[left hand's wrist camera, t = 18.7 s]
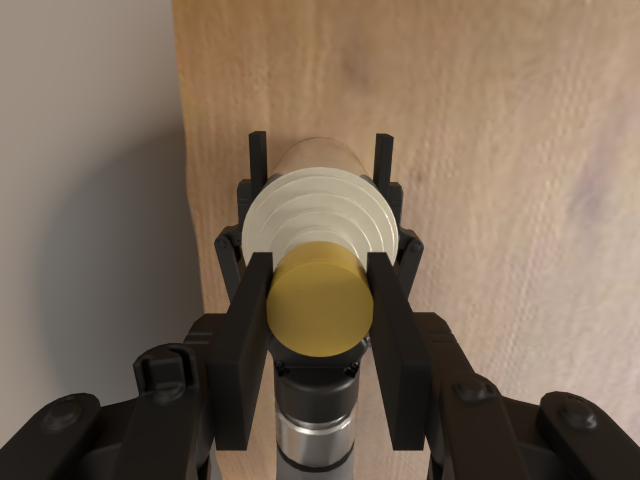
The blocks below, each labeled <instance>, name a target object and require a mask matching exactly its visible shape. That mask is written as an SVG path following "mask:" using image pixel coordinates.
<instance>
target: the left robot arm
mask: <svg viewBox="0 0 640 480" xmlns="http://www.w3.org/2000/svg"><path fill="white" fill-rule="evenodd" d="M273 273H274V271H273V252H253V254H252V256H251V259H250V261H249V263H248V265H247V268H246V270H245V272H244V275H243V277H242V279H241V281H240V284H239V286H238V288H237V290H236V293H235V295H234V297H233V300H232V302H231V304H230V306H229V309H228V311H227V313H226V314H205V315H203V316H202V317H201V318H199V319H198V320H197V321H196V322H194V324H193V326H192V327H191V329H190V331H189V333H188V335H187V336H186V338H185V340H184V342H183V344H181V343H168V344H164V345H159V346H157V347H154V348H152V349H150V350H147V351H146V352H145V353H143V354H142V355H141V356H139V357H138V358H137V360H136V361H135V362H134V364H133V369H134V373H135V378H136V382H137V387H138V391H139V396H138V397H137V398H134V399H131V400H128V401H124V402H121V403H116V404H112V405H107V406H103V407H101V406H100V402H99V400H98V399H97V398H96V397H95V396H94V395H92V394H87V393H77V394H71V395H68V396H65V397H62V398H59V399H57V400H55V401H53V402H51V403H49V404H47V405H46V406H44V407H43V408H42V409H41V410H39V411H38V412H37V413H36V414H34V415H33V417H31V418H30V420H29V421H28V422H27V423H26V424H25V425H24V426H23V427H22V428H21V429H20V430H19V431H18V432H17V433H16V434H15V435H14V436H13V437H12V438H11V439H10V440H9V441H8V442H7V443H6V444H5V445H4V446H3V447H2V448H1V449H0V480H210V476H211V461H210V455H209V452H210V449H211V445H212V442H213V439H214V436H215V442H216V450H247V445H248V440H249V436H250V431H251V426H252V421H253V417H254V412H255V407H256V402H257V398H258V393H259V388H260V383H261V379H262V374H263V369H264V364H265V359H266V355H267V350H268V345H269V340H270V336H271V329H270V328H269V325H268V322H267V307H266V300H267V296H268V292H269V288H270V285H271V281H272V277H273ZM366 274H367V278H368V282H369V286H370V289H371V293H372V297H373V320H372V325H371V327H370V329H369V331H368V332H369V337H370V341H371V346H372V351H373V356H374V361H375V365H376V370H377V375H378V380H379V384H380V389H381V394H382V399H383V403H384V408H385V413H386V418H387V423H388V427H389V432H390V437H391V442H392V446H393V450H413V451H423V448H424V441H425V435H426V438H427V441H428V444H429V447H430V451H431V454H430V461H429V468H428V475H427V480H640V447H639V446H638V445H637V444H636V443H635V442H634V441H633V440H632V439H631V438H630V437H629V436H628V435H627V434H626V433H625V432H624V431H623V430H622V429H621V428H620V427H619V426H618V425H617V424H616V423H615V422H614V421H613V420H612V419H611V418H610V417H609V416H608V415H607V413H605V412H604V411H603V410H602V409H600V408H599V407H598V406H597V405H596V404H594V403H592V402H590V401H588V400H587V399H585V398H583V397H581V396H577V395H574V394H571V393H568V392H558V391H555V392H550V393H546V394H545V395H544V396H543V397H542V398H541V401H540V405H535V404H530V403H526V402H522V401H518V400H514V399H510V398H507V397H504V396H502V395H501V393H500V392H499V390H498V389H497V387H496V386H495V385H494V384H493V383H492V382H491V381H489V380H488V379H487V378H485V377H483V376H481V375H479V374H477V373H475V372H474V370H473V368H472V367H471V365H470V363H469V361H468V360H467V358H466V356H465V354H464V353H463V351H462V349H461V347H460V346H459V344H458V343H457V340H456V339H455V337H454V335H453V334H452V332H451V330H450V328H449V326H448V325H447V323H446V321H445V320H443V319H442V318H441V317H439V316H438V315H437V314H436V313H434V312H413V311H412V309H411V307H410V305H409V302H408V300H407V298H406V296H405V293H404V291H403V289H402V286H401V284H400V282H399V280H398V277H397V275H396V273H395V271H394V268H393V266H392V264H391V261H390V259H389V257H388V255H387V252H367V267H366Z"/></svg>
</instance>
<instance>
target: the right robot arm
mask: <svg viewBox="0 0 640 480" xmlns="http://www.w3.org/2000/svg"><path fill="white" fill-rule="evenodd" d="M393 140H394V137H392V136H390V135H388V134H376V146H375V160H374V174H373V182H374V183H375V185H376V186H377V188H378V189H379V191H380V192H381V194H382V195H383V197H384V198H385V200H386V202H387V203H388V205H389V207H390V209H391V210H392V213H393V215H394V218H395V221H396V225H397V230H398V250H397V255H396V259H395V262H394V265H393V268H394V271H395V273H396V275H397V277H398V280H399V282H400V284H401V286H402V289H403V291H404V293H405V296H406V298H407V300H408V297H409V294H410V291H411V287H412V284H413V281H414V278H415V275H416V272H417V269H418V265H419V262H420V259H421V256H422V253H423V250H424V245H423V243H422V242H421V240H420V239H419V238H418V236H417V235H416V233H415V232H414V231H412V230H406V229H403V228H401V227H400V222H401V212H402V203H403V202H402V201H403V190H402V187H401V185H400V184H399V183H398V182H390V174H391V163H392V151H393ZM249 150H250V170H251V179H243V180H242V181H241V182H240V183H239V185H238V188H237V200H238V216H239V224H237V225H235V226H232V227H231V226H228V227H225V228H224V229H223V230H222V232H221V233H220V234H219V236H218V237H217V238H216V240H215V242H214V246H215V249H216V253H217V256H218V260H219V264H220V267H221V271H222V275H223V278H224V282H225V285H226V289H227V293H228V296H229V300H230V303H231V302H232V300H233V297H234V295H235V293H236V290H237V288H238V286H239V284H240V281H241V279H242V277H243V275H244V272H245V270H246V265H245V261H244V257H243V253H242V249H241V244H242V230H243V224H244V221H245V218H246V215H247V212H248V210H249V208H250V206H251V205H252V203H253V202H254V200H255V199H256V197H257V196H258V194H259V192H260V191H261V189H262V188H263V186H264V185H265V183H266V182H267V180H268V179H267V148H266V131H255V132H253V133H251V134H249ZM368 347H372V346H371V341H370V337H369V332H368V333H367V334H366V335H365V337H364V338H363V339H362V340H361V341H360V342H359V343H358V344H357V345H355V346H354V347H352V348H351V349H349V350H347V351H345V352H343V353H340V354H337V355H333V356H327V357H313V356H307V355H303V354H300V353H297V352H295V351H293V350H291V349H289V348H287V347H286V346H285V345H283V344H282V343H281V342H280V341H279V340H278V339H277V338H276V337H275V336H274V334H273V333H272V331H271V336H270V340H269V345H268V350H269V352H270V353H271V355H272V357H273V362H274V393H275V420H276V441H277V473H276V480H353V452H354V439H355V432H356V418H357V398H358V388H359V374H360V361H361V358H362V356H363V355H364V353H365V352H366V350H367V348H368Z"/></svg>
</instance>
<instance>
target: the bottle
mask: <svg viewBox="0 0 640 480" xmlns="http://www.w3.org/2000/svg"><path fill="white" fill-rule="evenodd" d="M314 241H326V242H332V243H336V244H338V245H341V246H343V247H345V248H347V249H348V250H350V251H351V252H352V253H353V254H355V255H356V256H357V258H358V259H359V260H360V261H361V263H362V264H363V266H364V269H365V271H366V267H367V252H387V255H388V257H389V259H390V261H391V264H392V266H393V265H394V262H395V259H396V255H397V250H398V230H397V225H396V221H395V218H394V215H393V213H392V210H391V209H390V207H389V205H388V203H387V202H386V200H385V198H384V197H383V195H382V194H381V192H380V191H379V189H378V188H377V186H376V185H375V183H374V182H373V180H372V179H371V177H370V176H369V174H368V173H367V171H366V170H365V168H364V167H363V165H362V164H361V162H360V161H359V159H358V158H357V156H356V155H355V154H354V153H353V152H352V151H351V150H350V149H349V148H348V147H347V146H345V145H344V144H342V143H340V142H338V141H335V140H332V139H328V138H313V139H308V140H305V141H302V142H300V143H298V144H296V145H295V146H293V147H292V148H291V149H290V150H289V151H288V152H287V153H286V154H285V155H284V156H283V158H282V159H281V161H280V162H279V164H278V165H277V167H276V168H275V170H274V171H273V173H272V174H271V176H270V177H269V179H268V180H267V182H266V183H265V185H264V186H263V188H262V189H261V191H260V192H259V194H258V196H257V197H256V199H255V200H254V202H253V203H252V205H251V206H250V208H249V210H248V212H247V215H246V218H245V221H244V224H243V230H242V250H243V255H244V259H245V262H246V265H248V263H249V261H250V259H251V256H252V254H253V252H273V271H275V268H276V266H277V264H278V262H279V261H280V260H281V258H282V257H283V256H284V255H285V254H286V253H287V252H289V251H290V250H291V249H293V248H295V247H297V246H299V245H301V244H304V243H308V242H314Z"/></svg>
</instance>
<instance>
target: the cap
mask: <svg viewBox="0 0 640 480" xmlns="http://www.w3.org/2000/svg"><path fill="white" fill-rule="evenodd" d="M266 307H267V322H268V325H269V328H270V329H271V331H272V333H273V334H274V336H275V337H276V338H277V339H278V340H279V341H280V342H281V343H282V344H283V345H285V346H286V347H287V348H289V349H291V350H293V351H295V352H297V353H300V354H303V355H307V356H313V357H327V356H333V355H337V354H340V353H343V352H345V351H347V350H349V349H351V348H352V347H354V346H355V345H357V344H358V343H359V342H360V341H361V340H362V339H363V338H364V337H365V335H366V334H367V333H368V331H369V329H370V327H371V325H372V320H373V297H372V293H371V289H370V286H369V282H368V278H367V274H366V271H365V269H364V266H363V264H362V263H361V261H360V260H359V259H358V258H357V256H356V255H355V254H353V253H352V252H351V251H350V250H348V249H347V248H345V247H343V246H341V245H338V244H336V243H332V242H326V241H314V242H308V243H304V244H301V245H299V246H297V247H295V248H293V249H291V250H290V251H289V252H287V253H286V254H285V255H284V256H283V257H282V258H281V260H280V261H279V262H278V264H277V266H276V268H275V271H274V273H273V277H272V281H271V285H270V288H269V292H268V296H267V300H266Z"/></svg>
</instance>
